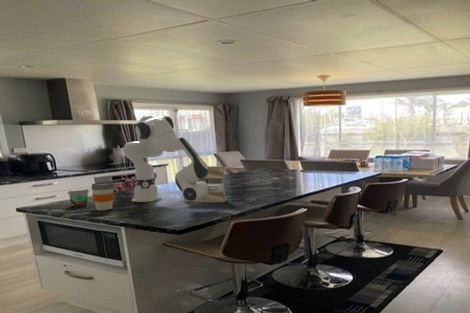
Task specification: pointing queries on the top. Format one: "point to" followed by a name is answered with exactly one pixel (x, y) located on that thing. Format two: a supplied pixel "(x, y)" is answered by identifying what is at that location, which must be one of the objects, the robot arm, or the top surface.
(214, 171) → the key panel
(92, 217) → the top surface
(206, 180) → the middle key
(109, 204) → the reusable coffee cup
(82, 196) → the food container
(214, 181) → the key
